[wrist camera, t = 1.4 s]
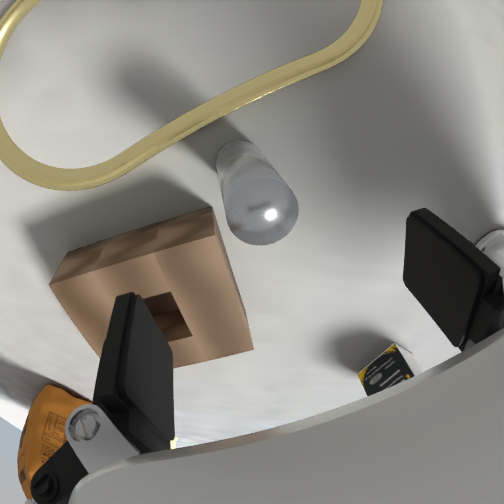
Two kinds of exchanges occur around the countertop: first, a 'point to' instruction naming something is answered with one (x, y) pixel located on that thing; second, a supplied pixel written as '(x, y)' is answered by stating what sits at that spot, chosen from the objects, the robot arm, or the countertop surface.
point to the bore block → (160, 287)
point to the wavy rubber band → (186, 124)
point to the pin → (254, 195)
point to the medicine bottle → (389, 369)
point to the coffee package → (44, 431)
